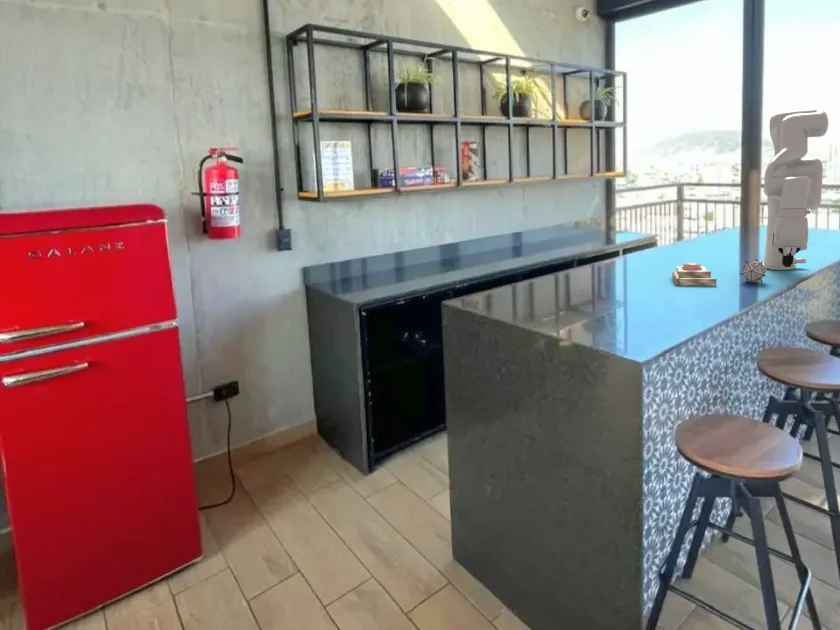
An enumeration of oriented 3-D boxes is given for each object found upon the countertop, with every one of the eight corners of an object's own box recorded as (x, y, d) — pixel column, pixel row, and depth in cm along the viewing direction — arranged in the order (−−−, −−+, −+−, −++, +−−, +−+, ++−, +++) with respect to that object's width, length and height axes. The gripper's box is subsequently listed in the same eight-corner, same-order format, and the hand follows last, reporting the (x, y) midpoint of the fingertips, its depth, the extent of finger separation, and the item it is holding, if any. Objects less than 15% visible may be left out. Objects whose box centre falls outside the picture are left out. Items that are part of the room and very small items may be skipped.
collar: (703, 272, 230) (704, 266, 229) (707, 277, 221) (707, 270, 220) (676, 272, 233) (676, 266, 232) (678, 277, 224) (678, 270, 223)
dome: (698, 270, 228) (699, 262, 227) (700, 273, 223) (701, 265, 222) (682, 270, 230) (682, 262, 229) (683, 273, 225) (684, 265, 224)
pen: (710, 277, 220) (710, 271, 219) (716, 285, 206) (716, 279, 205) (672, 277, 224) (672, 270, 224) (675, 285, 210) (676, 278, 209)
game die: (758, 293, 208) (775, 273, 201) (734, 284, 209) (751, 265, 202) (756, 276, 214) (773, 257, 206) (734, 269, 215) (749, 249, 207)
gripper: (814, 212, 201) (808, 265, 205) (765, 213, 205) (760, 264, 209) (821, 213, 194) (815, 268, 198) (770, 214, 198) (765, 268, 203)
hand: (786, 266), depth 204 cm, fingers closed
